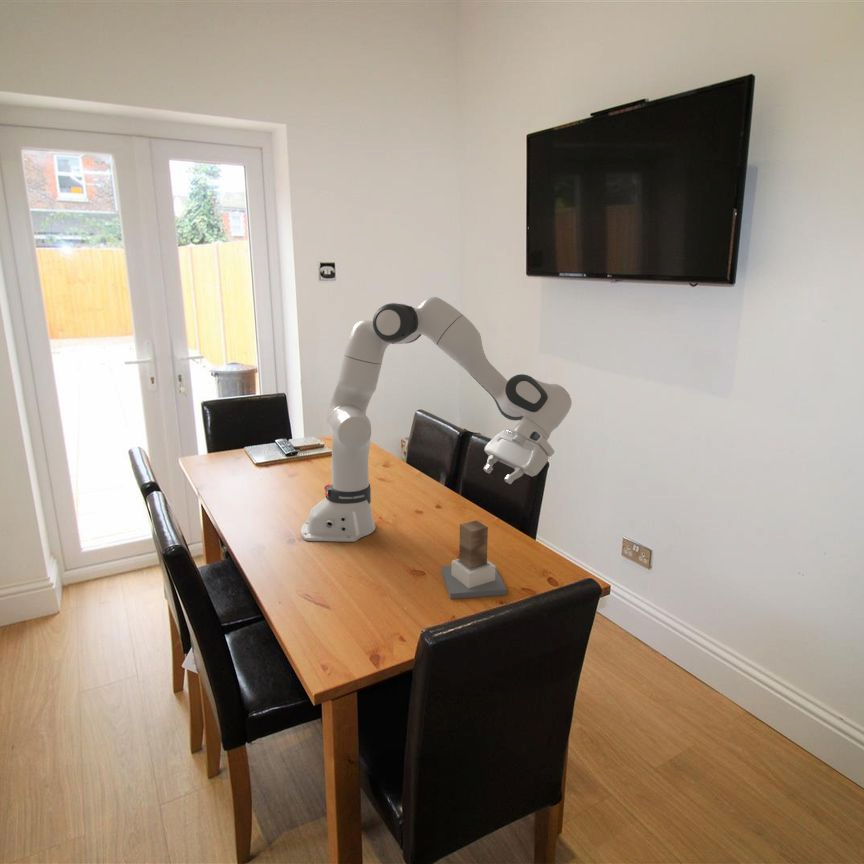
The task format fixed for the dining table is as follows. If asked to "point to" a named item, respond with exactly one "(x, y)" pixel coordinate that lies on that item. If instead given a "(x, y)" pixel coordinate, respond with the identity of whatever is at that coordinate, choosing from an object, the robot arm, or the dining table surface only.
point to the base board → (473, 591)
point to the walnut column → (473, 544)
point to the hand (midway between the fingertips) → (496, 476)
